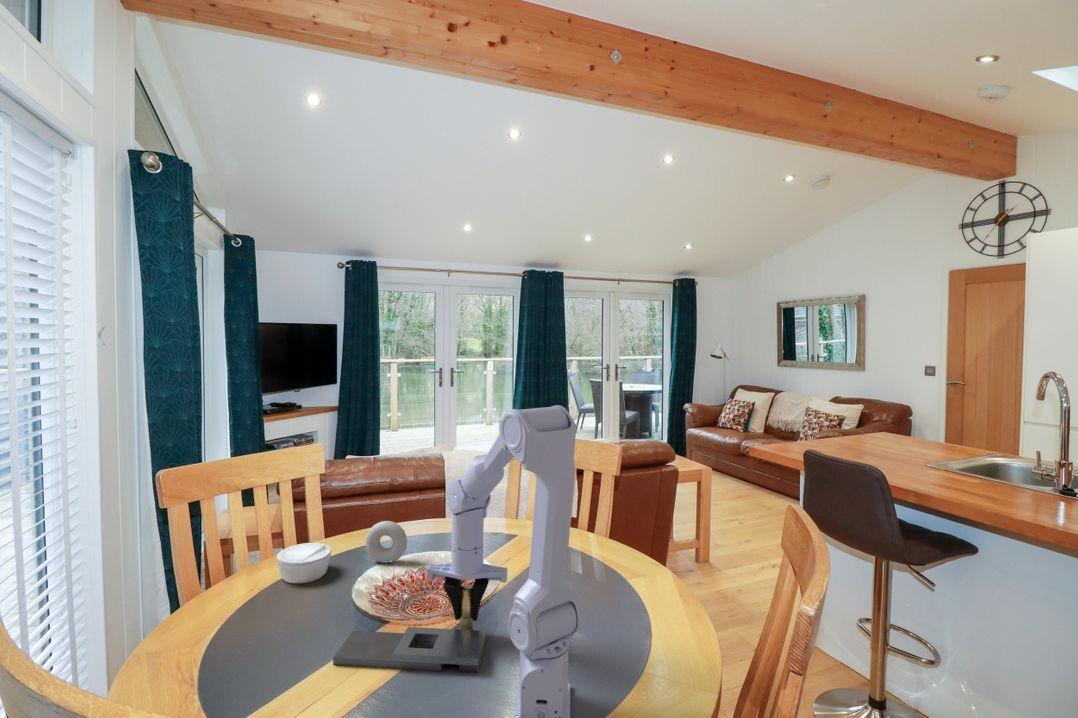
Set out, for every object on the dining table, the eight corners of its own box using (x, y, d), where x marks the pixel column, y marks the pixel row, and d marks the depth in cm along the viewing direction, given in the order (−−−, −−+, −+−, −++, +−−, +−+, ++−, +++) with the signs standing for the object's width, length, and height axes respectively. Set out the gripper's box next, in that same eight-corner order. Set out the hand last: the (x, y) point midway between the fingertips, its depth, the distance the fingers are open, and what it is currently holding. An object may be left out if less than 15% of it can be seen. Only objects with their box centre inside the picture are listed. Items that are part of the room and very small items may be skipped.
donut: (409, 560, 127) (409, 519, 127) (404, 566, 124) (404, 524, 124) (368, 558, 128) (368, 518, 128) (363, 564, 125) (363, 523, 124)
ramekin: (331, 582, 116) (331, 558, 116) (274, 590, 112) (274, 565, 112) (331, 561, 126) (331, 539, 126) (279, 568, 122) (279, 545, 122)
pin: (472, 635, 95) (472, 591, 95) (458, 634, 95) (458, 590, 95) (475, 627, 98) (475, 584, 97) (461, 626, 98) (461, 584, 98)
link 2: (477, 672, 85) (477, 658, 85) (392, 668, 86) (392, 653, 86) (485, 644, 93) (485, 630, 93) (407, 640, 94) (407, 626, 94)
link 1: (440, 670, 86) (441, 663, 86) (333, 664, 87) (333, 657, 87) (452, 642, 94) (452, 635, 94) (353, 637, 95) (353, 630, 95)
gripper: (509, 537, 99) (508, 608, 100) (434, 534, 100) (433, 604, 101) (505, 552, 92) (504, 628, 93) (423, 549, 93) (423, 624, 94)
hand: (466, 617), depth 96 cm, fingers closed on pin, 3 cm apart
